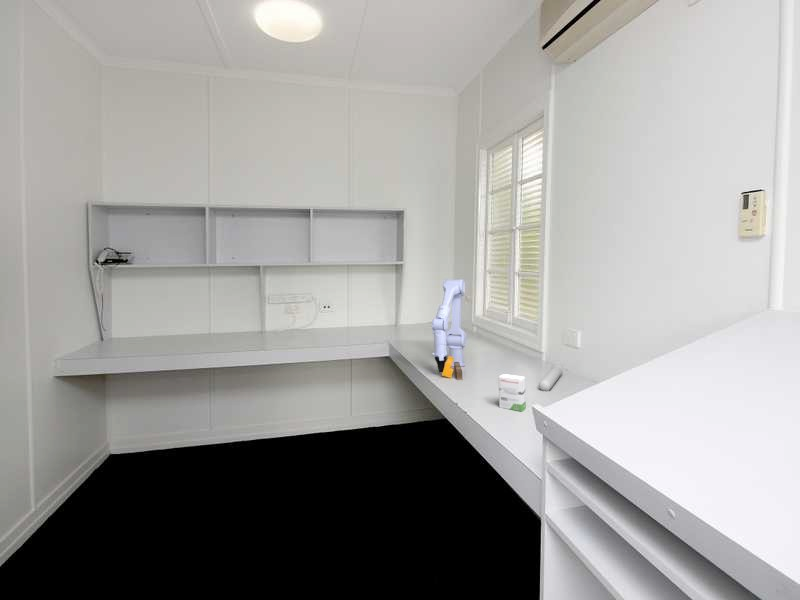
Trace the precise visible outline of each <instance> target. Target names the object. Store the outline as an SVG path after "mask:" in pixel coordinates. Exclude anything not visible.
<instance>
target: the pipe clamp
mask: <svg viewBox="0 0 800 600" xmlns="http://www.w3.org/2000/svg"><path fill="white" fill-rule="evenodd" d="M453 359H454V357H450V356H449V355H448V356H447V360H446V362H445V366H444V370H443V372H441V373H442V374H441V376H442V377H446V378H449V379H452V376H453V374H454V372H455V371H454V368H452V367H453V366H452V362H453Z"/></svg>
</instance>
